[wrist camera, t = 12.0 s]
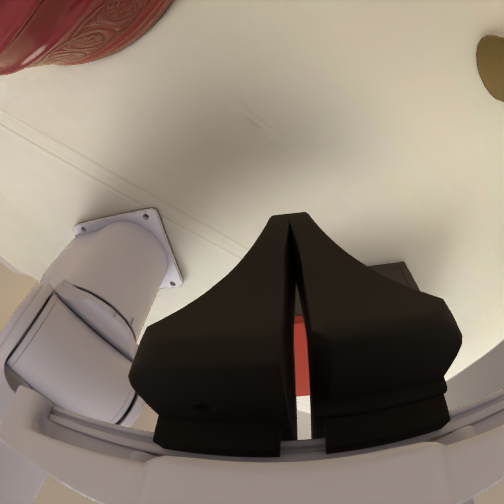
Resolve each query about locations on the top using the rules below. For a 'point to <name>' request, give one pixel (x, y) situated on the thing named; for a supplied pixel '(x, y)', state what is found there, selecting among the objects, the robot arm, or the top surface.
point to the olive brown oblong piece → (492, 65)
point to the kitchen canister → (70, 30)
